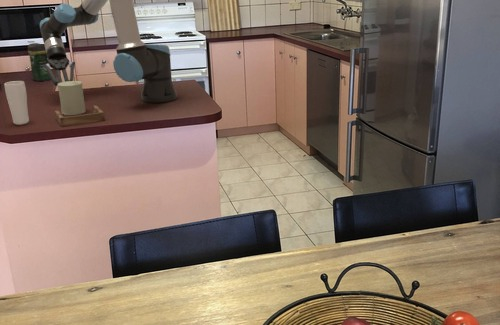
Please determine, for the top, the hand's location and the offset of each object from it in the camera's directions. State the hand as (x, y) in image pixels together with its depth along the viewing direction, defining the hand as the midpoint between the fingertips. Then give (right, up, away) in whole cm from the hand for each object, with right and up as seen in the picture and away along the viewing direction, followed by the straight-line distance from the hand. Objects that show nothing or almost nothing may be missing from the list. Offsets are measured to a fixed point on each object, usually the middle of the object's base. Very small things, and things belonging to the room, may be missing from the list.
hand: (68, 98), depth 211 cm
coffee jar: (-33, +16, +56) cm, 67 cm away
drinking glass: (-10, -12, -20) cm, 25 cm away
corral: (+10, -10, -16) cm, 21 cm away
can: (+4, -7, -6) cm, 10 cm away
